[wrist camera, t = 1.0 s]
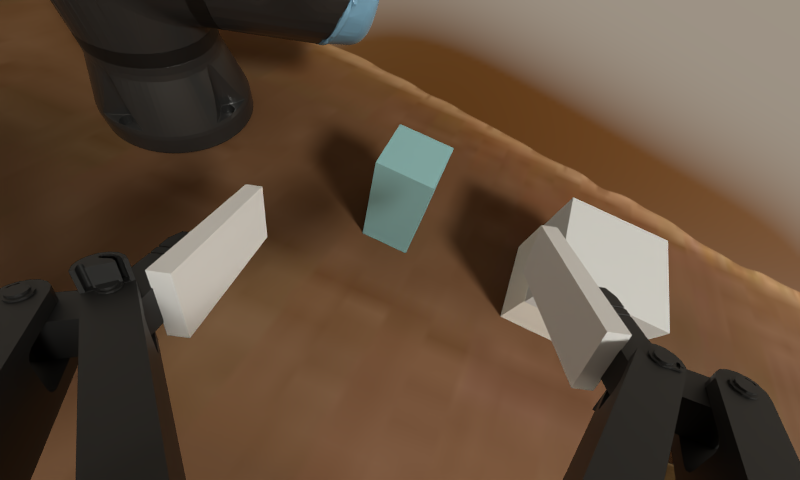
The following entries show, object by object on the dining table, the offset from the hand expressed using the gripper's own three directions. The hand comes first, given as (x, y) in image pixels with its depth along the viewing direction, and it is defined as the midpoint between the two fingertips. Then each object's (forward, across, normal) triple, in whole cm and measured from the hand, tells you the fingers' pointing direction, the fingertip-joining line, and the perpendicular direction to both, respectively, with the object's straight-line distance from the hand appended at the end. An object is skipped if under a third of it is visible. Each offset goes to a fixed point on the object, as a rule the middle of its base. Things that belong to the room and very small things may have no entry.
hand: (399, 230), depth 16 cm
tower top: (+12, +18, -10) cm, 23 cm away
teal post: (+18, 0, -10) cm, 21 cm away
